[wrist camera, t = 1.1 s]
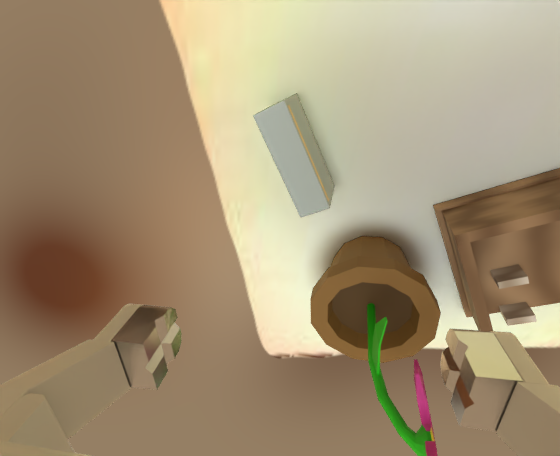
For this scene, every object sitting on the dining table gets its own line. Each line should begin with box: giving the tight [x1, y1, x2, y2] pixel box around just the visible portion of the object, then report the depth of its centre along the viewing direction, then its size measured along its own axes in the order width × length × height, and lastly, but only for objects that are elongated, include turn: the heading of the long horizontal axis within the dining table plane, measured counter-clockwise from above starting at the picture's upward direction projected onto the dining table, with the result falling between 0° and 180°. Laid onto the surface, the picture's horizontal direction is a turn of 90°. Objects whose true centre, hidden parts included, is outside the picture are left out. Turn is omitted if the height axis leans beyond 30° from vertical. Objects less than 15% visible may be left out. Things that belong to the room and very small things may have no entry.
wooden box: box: [433, 168, 560, 332], centre depth 34 cm, size 20×17×8 cm
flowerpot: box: [311, 236, 441, 456], centre depth 32 cm, size 14×14×30 cm
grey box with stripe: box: [253, 93, 334, 217], centre depth 36 cm, size 12×4×7 cm, turn 25°
